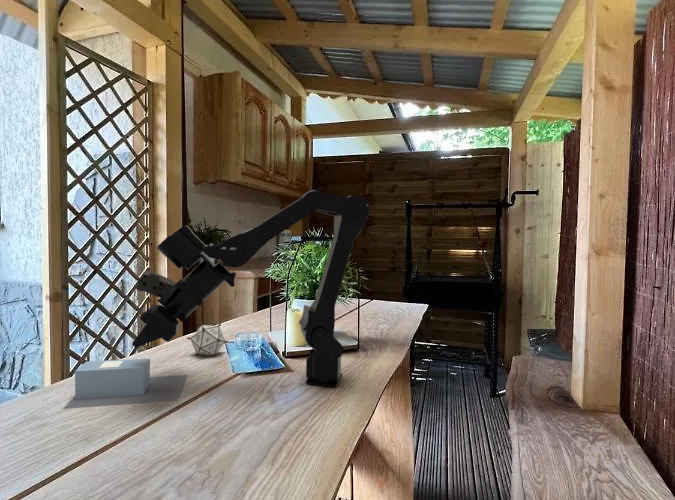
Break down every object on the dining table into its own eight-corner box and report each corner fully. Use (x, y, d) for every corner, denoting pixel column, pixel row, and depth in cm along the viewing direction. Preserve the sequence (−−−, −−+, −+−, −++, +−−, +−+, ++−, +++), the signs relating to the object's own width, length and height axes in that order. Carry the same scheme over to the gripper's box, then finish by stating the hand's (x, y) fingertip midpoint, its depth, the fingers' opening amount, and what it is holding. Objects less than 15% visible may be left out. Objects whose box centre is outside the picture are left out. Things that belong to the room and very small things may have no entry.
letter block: (149, 358, 75) (85, 360, 72) (143, 367, 70) (74, 370, 67) (149, 383, 75) (86, 387, 73) (143, 394, 70) (74, 399, 68)
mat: (187, 377, 80) (187, 374, 80) (178, 403, 69) (178, 400, 68) (90, 383, 76) (90, 380, 76) (62, 411, 64) (62, 408, 64)
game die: (215, 369, 95) (240, 335, 97) (200, 368, 87) (228, 331, 89) (189, 347, 98) (214, 315, 100) (172, 345, 89) (200, 309, 91)
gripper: (174, 253, 81) (116, 305, 79) (154, 261, 63) (78, 329, 61) (213, 289, 83) (157, 341, 81) (204, 307, 65) (133, 375, 63)
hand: (134, 345), depth 72 cm, fingers closed
